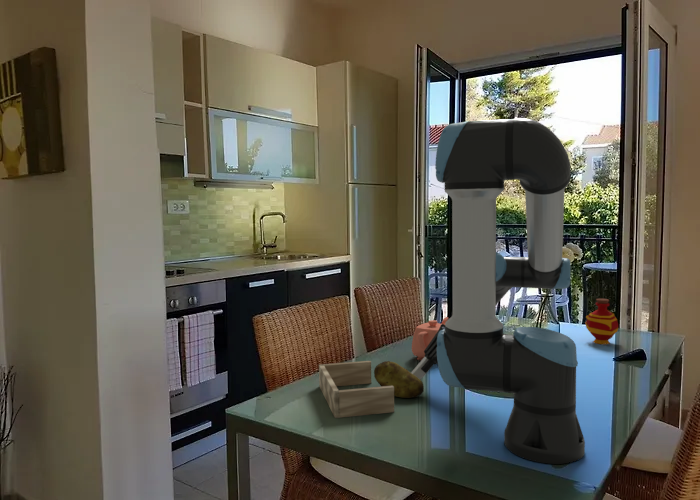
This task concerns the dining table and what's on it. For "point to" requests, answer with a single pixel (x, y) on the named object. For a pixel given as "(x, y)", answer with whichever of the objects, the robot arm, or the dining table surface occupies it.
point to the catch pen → (353, 390)
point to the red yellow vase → (602, 323)
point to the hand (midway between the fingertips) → (413, 379)
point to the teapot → (424, 337)
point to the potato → (398, 379)
